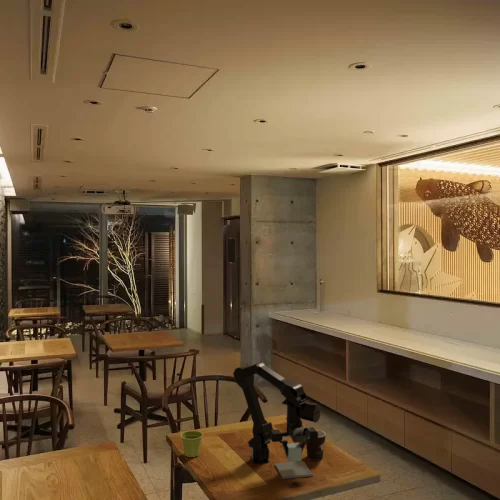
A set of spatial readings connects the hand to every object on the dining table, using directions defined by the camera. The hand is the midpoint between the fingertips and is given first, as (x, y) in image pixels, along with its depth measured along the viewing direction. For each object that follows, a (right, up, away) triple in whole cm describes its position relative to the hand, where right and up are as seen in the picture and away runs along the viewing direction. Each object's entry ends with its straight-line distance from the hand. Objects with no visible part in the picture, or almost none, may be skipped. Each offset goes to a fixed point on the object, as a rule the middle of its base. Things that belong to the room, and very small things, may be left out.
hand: (293, 456), depth 203 cm
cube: (0, -1, 0) cm, 1 cm away
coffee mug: (+12, -6, +14) cm, 19 cm away
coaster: (0, -6, 0) cm, 6 cm away
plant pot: (-42, -5, +14) cm, 44 cm away
